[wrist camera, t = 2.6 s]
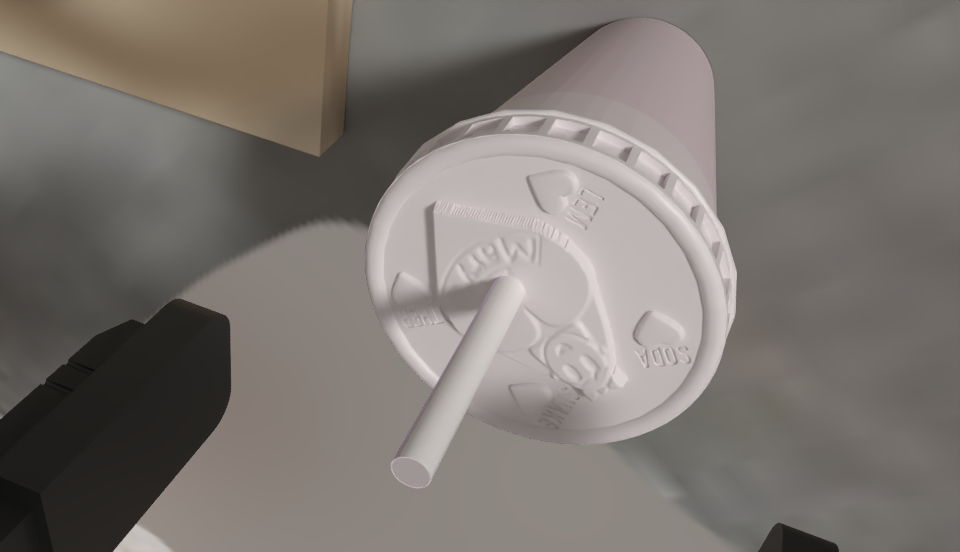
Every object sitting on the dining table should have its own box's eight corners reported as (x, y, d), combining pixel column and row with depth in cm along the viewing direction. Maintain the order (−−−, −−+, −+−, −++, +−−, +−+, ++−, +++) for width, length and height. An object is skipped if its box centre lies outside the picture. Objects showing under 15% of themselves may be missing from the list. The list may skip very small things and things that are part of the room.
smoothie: (660, -102, 19) (426, 194, 9) (828, 113, 21) (808, 600, 10) (471, 69, 23) (145, 422, 12) (624, 241, 25) (450, 692, 14)
